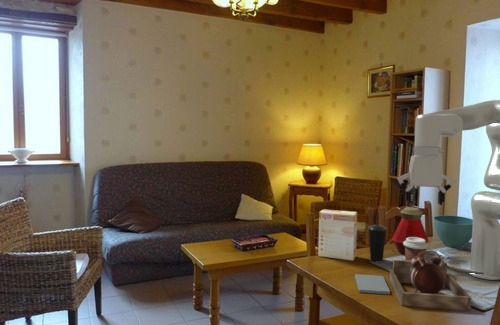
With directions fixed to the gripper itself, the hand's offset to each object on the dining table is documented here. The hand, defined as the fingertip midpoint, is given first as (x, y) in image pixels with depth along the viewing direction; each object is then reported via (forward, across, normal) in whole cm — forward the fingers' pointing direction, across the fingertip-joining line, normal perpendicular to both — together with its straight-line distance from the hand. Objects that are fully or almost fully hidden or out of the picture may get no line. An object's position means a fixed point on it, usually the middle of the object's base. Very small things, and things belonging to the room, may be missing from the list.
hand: (424, 203), depth 131 cm
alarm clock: (+31, -2, +2) cm, 31 cm away
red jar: (+31, -3, -44) cm, 53 cm away
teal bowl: (+31, -25, -61) cm, 73 cm away
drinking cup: (+31, +12, -30) cm, 45 cm away
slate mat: (+30, +16, -2) cm, 34 cm away
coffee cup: (+31, -2, -22) cm, 38 cm away
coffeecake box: (+31, +28, -31) cm, 52 cm away
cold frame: (+30, -2, +2) cm, 30 cm away
